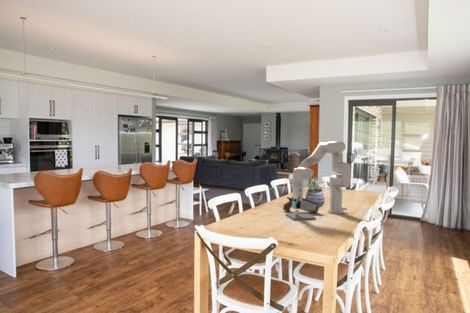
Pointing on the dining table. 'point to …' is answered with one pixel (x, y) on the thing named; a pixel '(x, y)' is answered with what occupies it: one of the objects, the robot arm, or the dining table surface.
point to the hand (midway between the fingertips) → (296, 207)
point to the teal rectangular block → (295, 204)
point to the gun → (303, 205)
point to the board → (300, 216)
